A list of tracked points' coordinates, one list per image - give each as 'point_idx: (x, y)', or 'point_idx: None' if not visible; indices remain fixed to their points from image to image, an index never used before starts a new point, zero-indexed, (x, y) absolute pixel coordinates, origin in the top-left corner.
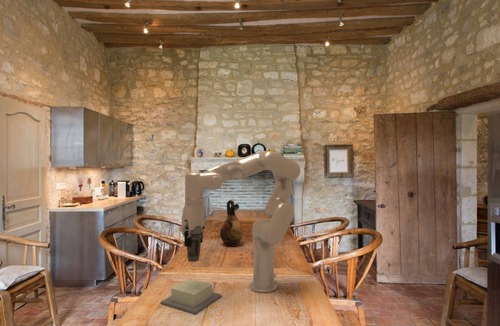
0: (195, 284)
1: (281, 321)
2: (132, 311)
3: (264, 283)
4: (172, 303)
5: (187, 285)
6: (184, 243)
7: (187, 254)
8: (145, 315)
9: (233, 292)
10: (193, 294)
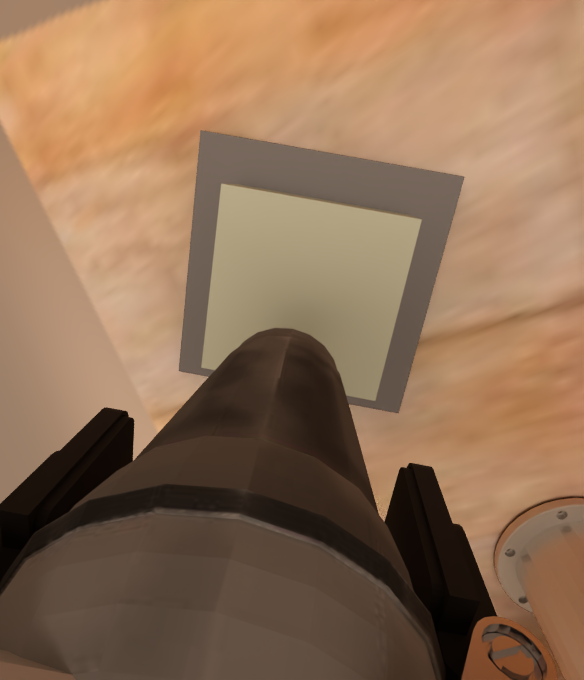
0: (336, 306)
1: None
2: (65, 25)
3: (529, 602)
4: (208, 213)
5: (303, 264)
6: (86, 428)
7: (230, 356)
8: (69, 135)
9: (467, 442)
10: (202, 362)
